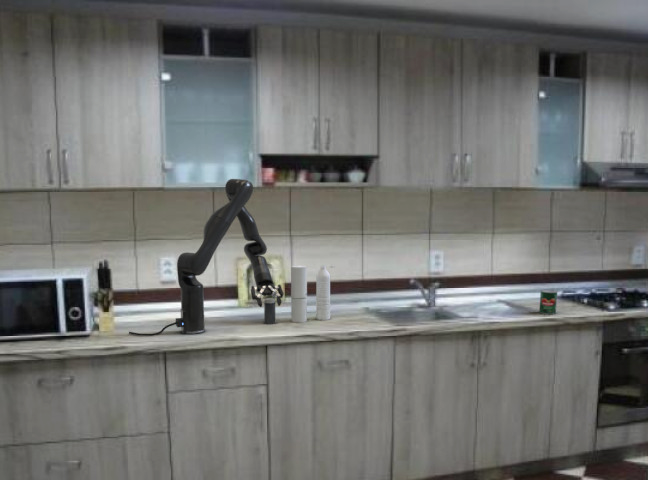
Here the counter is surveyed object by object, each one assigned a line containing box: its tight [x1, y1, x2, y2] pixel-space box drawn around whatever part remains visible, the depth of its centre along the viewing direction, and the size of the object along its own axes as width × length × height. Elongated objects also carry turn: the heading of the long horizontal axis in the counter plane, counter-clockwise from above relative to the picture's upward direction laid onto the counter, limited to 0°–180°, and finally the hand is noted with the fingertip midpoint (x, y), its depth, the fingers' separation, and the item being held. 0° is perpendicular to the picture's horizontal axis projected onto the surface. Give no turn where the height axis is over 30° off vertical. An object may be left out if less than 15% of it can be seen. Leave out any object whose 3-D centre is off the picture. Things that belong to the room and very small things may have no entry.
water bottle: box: [315, 264, 335, 321], centre depth 287 cm, size 9×6×25 cm
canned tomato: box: [538, 289, 558, 315], centre depth 306 cm, size 8×8×11 cm
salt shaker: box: [263, 297, 276, 325], centre depth 277 cm, size 5×5×11 cm
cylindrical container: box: [290, 265, 308, 323], centre depth 282 cm, size 7×7×25 cm
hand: (270, 305), depth 276 cm, fingers open, 8 cm apart
